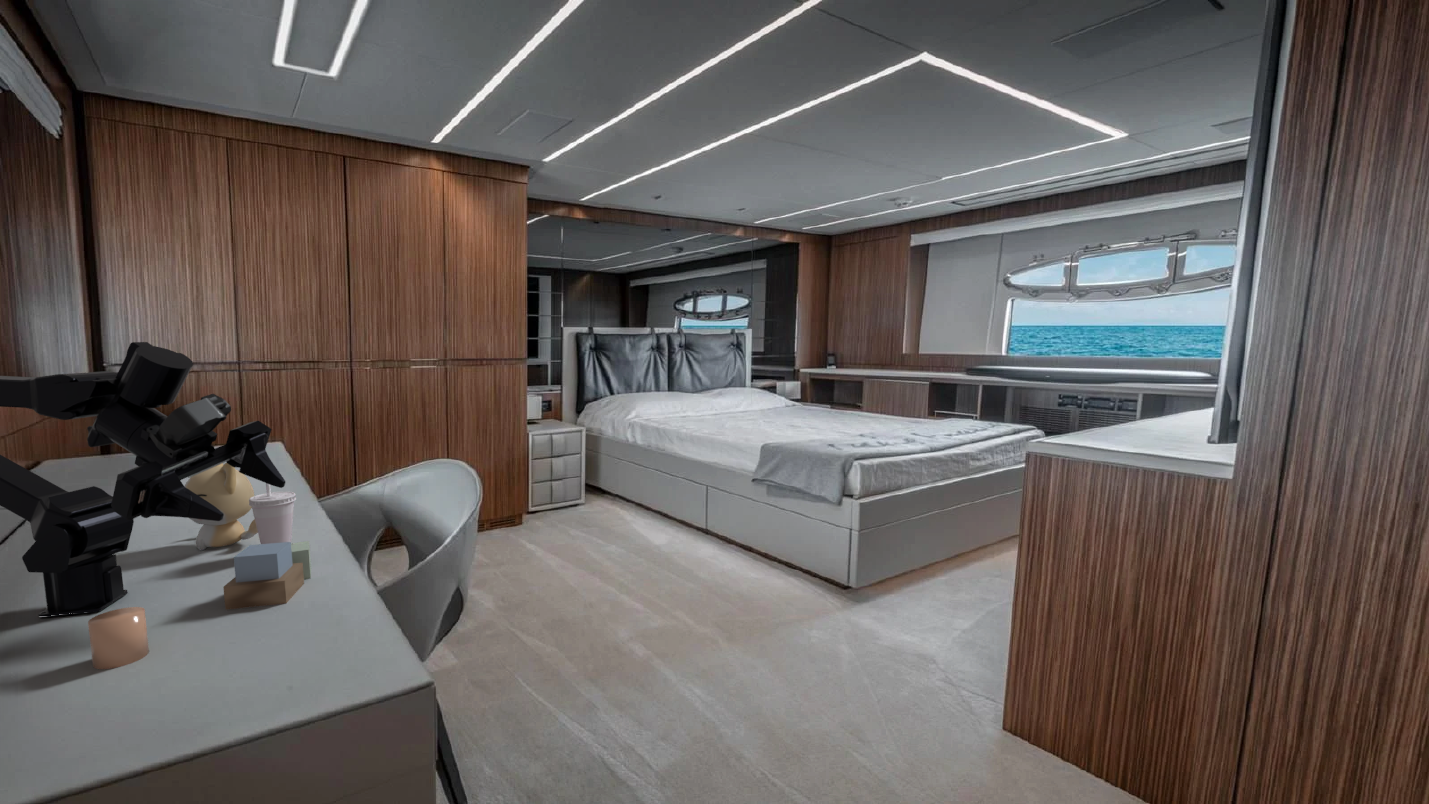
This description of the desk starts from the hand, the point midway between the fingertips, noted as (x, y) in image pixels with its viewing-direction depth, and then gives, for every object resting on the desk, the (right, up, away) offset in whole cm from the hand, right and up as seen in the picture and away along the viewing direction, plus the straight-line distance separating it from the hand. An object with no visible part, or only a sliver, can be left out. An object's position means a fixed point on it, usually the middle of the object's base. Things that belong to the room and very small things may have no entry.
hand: (254, 500), depth 81 cm
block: (-4, -14, +13) cm, 19 cm away
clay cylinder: (-7, -16, -10) cm, 21 cm away
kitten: (-26, -12, +28) cm, 40 cm away
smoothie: (-13, -13, +23) cm, 29 cm away
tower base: (-3, -15, +6) cm, 16 cm away
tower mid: (-3, -11, +6) cm, 13 cm away
